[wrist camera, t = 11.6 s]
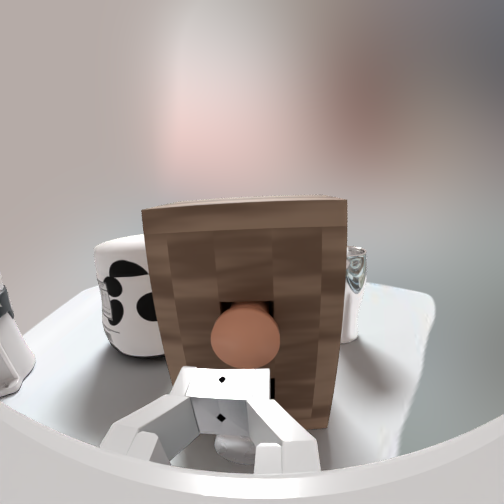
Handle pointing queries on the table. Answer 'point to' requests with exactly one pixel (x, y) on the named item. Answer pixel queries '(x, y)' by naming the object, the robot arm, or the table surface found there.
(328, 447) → the table surface
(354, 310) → the white hollow cylinder
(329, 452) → the table surface
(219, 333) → the terracotta plug
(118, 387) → the table surface
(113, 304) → the milk container
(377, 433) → the table surface
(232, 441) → the grey plug
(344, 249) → the box
